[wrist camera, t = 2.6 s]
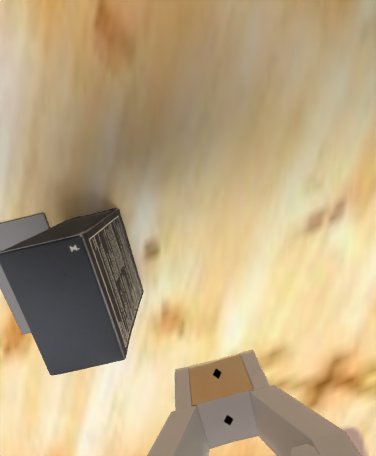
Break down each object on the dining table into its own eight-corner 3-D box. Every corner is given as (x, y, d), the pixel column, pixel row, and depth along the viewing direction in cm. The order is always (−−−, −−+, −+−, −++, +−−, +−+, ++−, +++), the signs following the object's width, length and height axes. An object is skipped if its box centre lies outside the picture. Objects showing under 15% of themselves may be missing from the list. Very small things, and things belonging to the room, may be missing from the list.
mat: (44, 213, 26) (42, 213, 25) (85, 317, 29) (84, 319, 28) (-25, 229, 26) (-27, 230, 25) (23, 332, 29) (22, 334, 28)
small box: (60, 220, 26) (-14, 252, 16) (119, 206, 26) (83, 229, 16) (91, 305, 28) (45, 381, 18) (145, 293, 28) (129, 361, 18)
